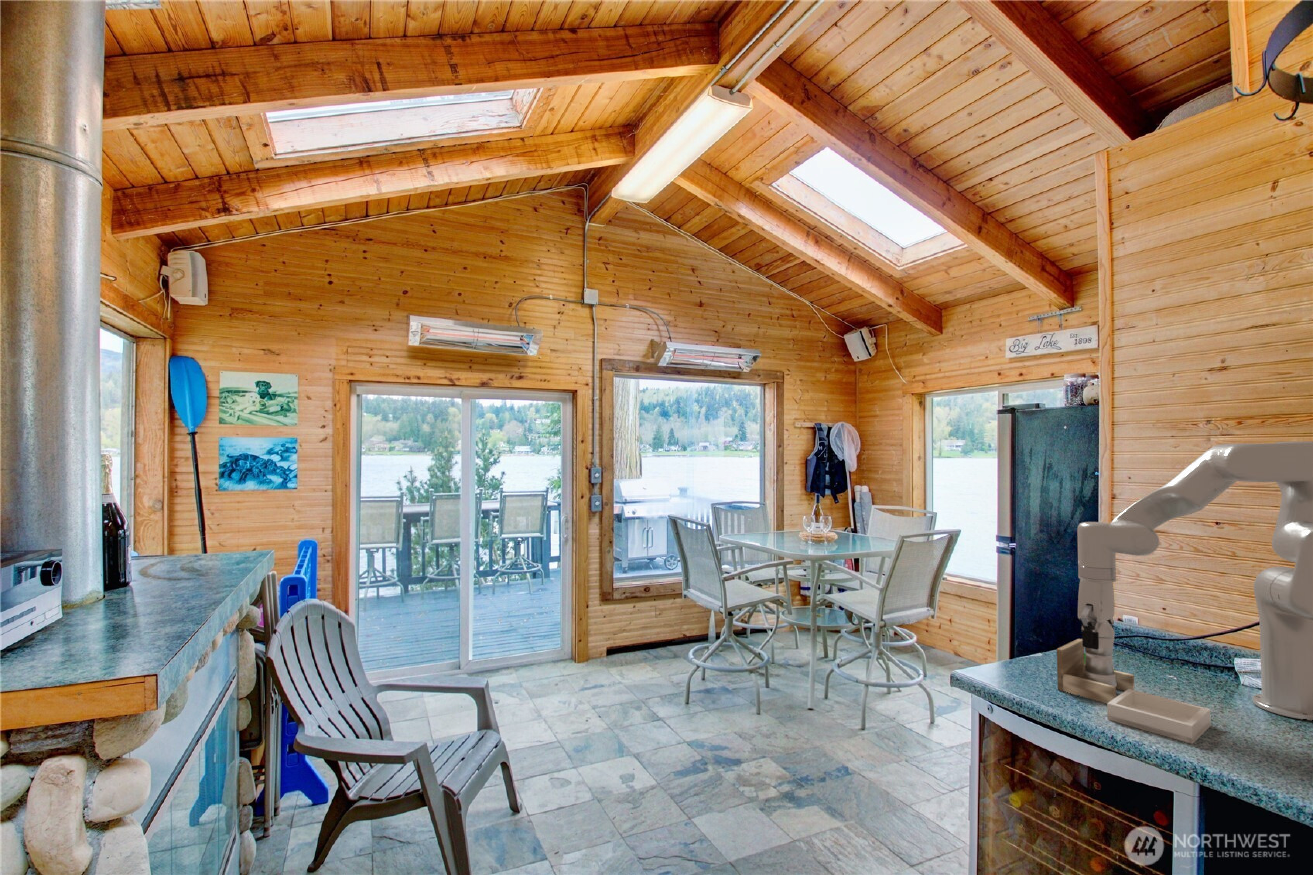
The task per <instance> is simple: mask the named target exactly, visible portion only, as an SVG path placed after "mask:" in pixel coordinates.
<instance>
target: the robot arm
mask: <svg viewBox="0 0 1313 875" xmlns="http://www.w3.org/2000/svg"><path fill="white" fill-rule="evenodd" d="M1237 482H1248V483H1256V482H1257V483H1276V484H1277V486H1278V488H1279V490H1280V495H1281V498H1280V499H1281V500H1280V504H1279V505H1280V507H1279V511H1278V514H1277V518H1276V521H1275V522H1276V524H1275V528H1274V531H1273V535H1272V539H1271V547H1272V551H1273V552H1274V553H1275V554H1276V555H1277V556H1279V558H1281V559H1284V560H1286V561H1289V562H1292V563H1294V564H1295V565H1294V568H1292V567H1286V566H1272V567H1268V568H1265V569H1263V570H1262V571H1261V572H1259V573H1258V574H1257V575H1256V578H1255V579H1254V583H1253V594H1254V600H1255V603H1256V606H1257V612H1258V620H1259V621H1258V622H1259V644H1260V645H1259V647H1260V648H1259V649H1260V652H1259V653H1260V676H1261V678H1260V679H1261V683H1260V684H1261V693H1258V694H1255V695H1253V696H1252V702H1253V704H1254V705H1255V706H1256V707H1258V708H1260V709H1262V710H1265V711H1266V712H1267V711H1268V712H1271V713H1272V714H1273V713H1274V714H1276V715H1280V716H1284V717H1287V718H1293V719H1298V720H1303V719H1307V720H1306V721H1312V720H1313V441H1312V440H1311V441H1310V440H1309V441H1307V440H1306V441H1277V442H1274V443H1273V442H1271V443H1247V442H1245V443H1239V442H1238V443H1220V444H1216V445H1213V446H1212V447H1210V448H1209V449H1207V450H1206V451H1204V452H1203V453H1202V454H1200V455H1199V456H1198V457H1197V458H1196V459H1195V460H1193V462H1191V463H1190V464H1189V465H1188V466H1186V467H1185V468H1183V469H1182V471H1180V472H1179V473H1177V474H1176V476H1174V477H1173V478H1172V479H1171V480H1169V481H1168V482H1167V483H1166V484H1164V485H1163V486H1161V487H1159V488H1157V489H1155V490H1153V491H1152V492H1150V493H1149V494H1147V495H1146V496H1143V497H1142V498H1140V499H1139V500H1137V501H1136V502H1134V503H1133V504H1131V505H1130V506H1129V507H1127V508H1126V509H1125V510H1124V511H1122V512H1121V513H1119V515H1117V516H1116V517H1115V518H1114V519H1113V520H1111V522H1100V521H1084V522H1080V523H1079V524H1078V525H1077V531H1076V532H1077V570H1078V571H1077V572H1078V579H1079V584H1078V586H1079V587H1078V595H1077V597H1078V598H1077V599H1078V600H1077V618H1078V619H1079V621H1081V622H1080V624H1081V633H1082V635H1081V637H1082V638H1081V639H1082V645H1083V647H1084V648H1085V647H1086V648H1091V649H1096V650H1097V649H1099V633H1098V632H1097V628H1098V624H1099V623H1102V622H1105V621H1108V622H1109V624H1110V625H1111V626H1112V628H1113V630H1114V624H1115V623H1114V617H1115V591H1114V590H1115V589H1114V583H1115V582H1117V568H1116V566H1117V565H1116V563H1117V560H1116V558H1117V557H1116V554H1124V555H1129V556H1137V557H1143V556H1148V555H1151V554H1153V553H1154V552H1156V551H1157V550H1158V548H1159V546H1160V538H1159V536H1158V534H1157V532H1156V531H1155V529H1156V528H1158V527H1160V526H1162V525H1163V524H1165V523H1166V522H1169V521H1172V520H1173V519H1177V518H1180V517H1184V516H1190V515H1192V514H1195V513H1198V512H1200V511H1202V510H1203V509H1204V508H1206V507H1207V506H1208V505H1209V504H1211V502H1213V501H1214V500H1216V499H1217V498H1218V497H1219V496H1220V495H1221V494H1223V493H1224V492H1225V491H1226V490H1228V489H1229V488H1230V487H1232V486H1233V485H1234V484H1235V483H1237ZM1092 611H1093V612H1092ZM1091 618H1092V619H1091ZM1092 623H1094V625H1092ZM1114 631H1115V630H1114Z"/></svg>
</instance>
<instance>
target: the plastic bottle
mask: <svg viewBox="0 0 1313 875" xmlns="http://www.w3.org/2000/svg"><path fill="white" fill-rule="evenodd" d="M1092 612H1093V611H1092ZM1091 619H1092V618H1091ZM1092 625H1094V623H1092ZM1097 632H1098V633H1099V649H1097V650H1096V649H1091V648H1086V647H1084V653H1085V654H1086V660H1085V670H1084V676H1083V679H1087V680H1091V681H1096V682H1100V683H1104V684H1108V685H1112V686H1117V681H1116V677H1115V674H1114V669H1115V667H1114V662H1113V661H1114V660H1113V659H1114V658H1113V657H1114V654H1113V653H1114V643H1115V630H1113V628H1112V626H1111V625H1110V624H1109V622H1108V621H1105V622H1102V623H1099V624H1098V628H1097Z"/></svg>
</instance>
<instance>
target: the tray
mask: <svg viewBox="0 0 1313 875" xmlns="http://www.w3.org/2000/svg"><path fill="white" fill-rule="evenodd" d="M1106 708H1107V710H1106V713H1107V714H1106V716H1107V719H1106V720H1108V721H1112V722H1115V723H1118V724H1123V725H1125V726H1127V727H1128V726H1129V727H1133V728H1136V729H1139V730H1143V731H1146V732H1150V733H1153V734H1157V735H1161V736H1163V737H1167V738H1170V739H1175V740H1176V741H1177V740H1178V741H1182V742H1184V743H1188V744H1192V745H1193V744H1194V743H1195V742H1197V741H1198V739H1199V738H1200V737H1201V736H1202V735H1203V734H1204V733H1205V732H1206V731H1207V730H1209V728H1210V727H1211V725H1212V722H1211V721H1212V720H1211V708H1208V707H1204V706H1200V705H1195V704H1192V703H1187V702H1184V701H1180V700H1175V699H1171V698H1167V697H1163V696H1159V695H1155V694H1150V693H1147V692H1142V691H1139V690H1135V689H1134V690H1131V689H1128V690H1126V691H1124V692H1122V693H1120V694H1119V695H1116V698H1114V699H1113V700H1111V701H1110V702H1108V703H1106Z"/></svg>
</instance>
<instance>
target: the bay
mask: <svg viewBox="0 0 1313 875" xmlns="http://www.w3.org/2000/svg"><path fill="white" fill-rule="evenodd" d="M1084 653H1085V647H1083V645H1082V638H1077V639H1075V640H1073V641H1070V642H1068V643H1066V644H1064V645H1062V646H1059V647H1058V648H1056V668H1057V670H1056V673H1057V674H1056V675H1057V677H1056V678H1057V680H1056V681H1057V691H1059V690H1060V691H1061V692H1063V691H1066V692H1065V693H1067V692H1068V693H1067V694H1070V693H1071V695H1075V696H1078V695H1080V696H1079V697H1082V696H1083V697H1082V698H1085V699H1086V698H1087V699H1090V700H1093V701H1097V702H1100V703H1104V704H1107V703H1108V702H1110V701H1111V700H1113V699H1114V698H1116V697H1117V690H1121V691H1124V692H1125V691H1126V690H1128V689H1131V690H1135V674H1131V673H1128V672H1124V671H1119V670H1116V669H1115V670H1116V671H1115V670H1114V674H1115V677H1116V681H1117V686H1112V685H1108V684H1104V683H1100V682H1096V681H1091V680H1087V679H1083V676H1084V670H1085V663H1084Z"/></svg>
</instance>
